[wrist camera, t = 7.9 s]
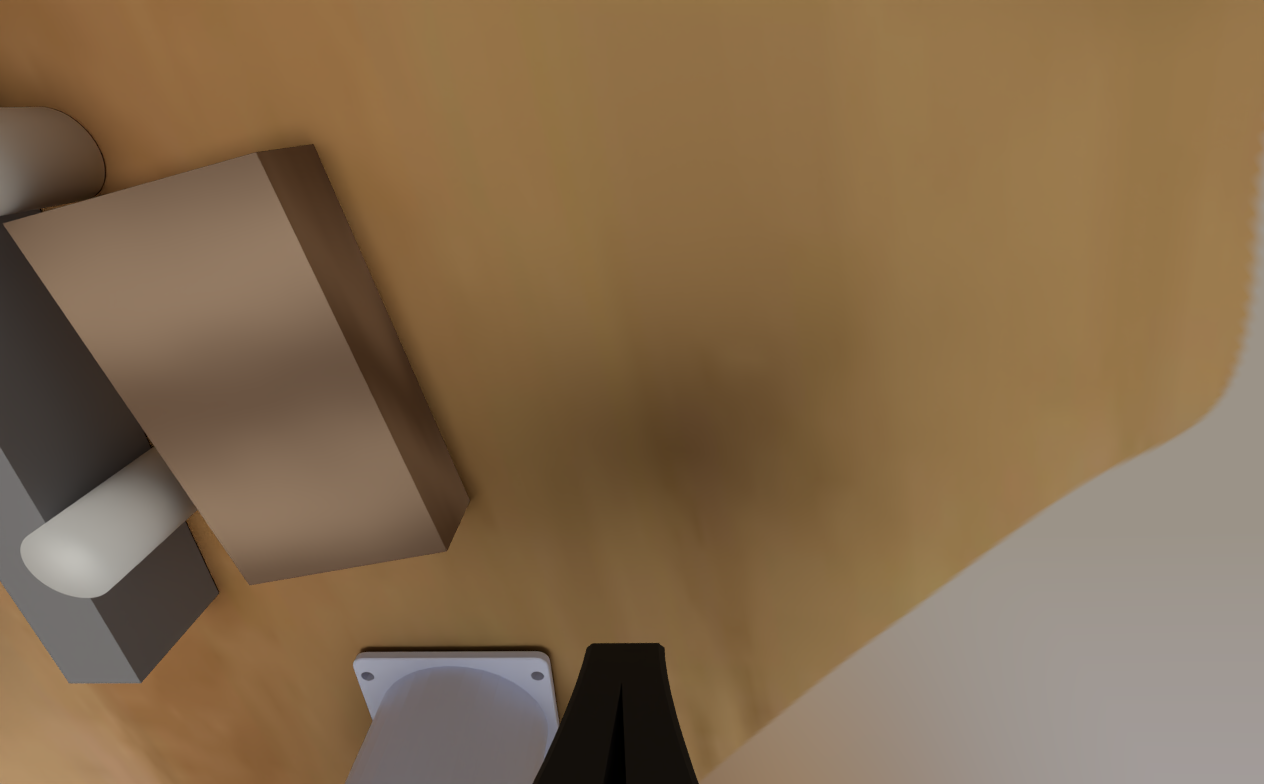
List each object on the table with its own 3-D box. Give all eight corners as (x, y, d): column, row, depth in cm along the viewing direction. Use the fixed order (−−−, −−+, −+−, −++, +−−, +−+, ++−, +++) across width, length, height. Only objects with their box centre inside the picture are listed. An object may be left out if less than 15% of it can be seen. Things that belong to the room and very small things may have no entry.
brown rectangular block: (472, 494, 22) (446, 551, 19) (298, 526, 22) (249, 585, 20) (321, 143, 16) (256, 151, 14) (103, 203, 17) (2, 223, 15)
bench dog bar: (279, 592, 23) (191, 711, 19) (157, 594, 24) (41, 710, 19) (-14, -129, 14) (-339, -237, 9) (-216, -115, 14) (-629, -214, 9)
